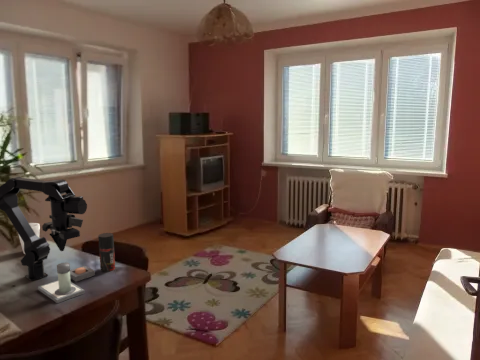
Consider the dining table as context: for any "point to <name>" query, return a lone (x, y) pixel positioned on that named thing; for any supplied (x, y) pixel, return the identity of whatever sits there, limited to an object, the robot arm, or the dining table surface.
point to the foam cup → (36, 230)
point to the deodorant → (106, 252)
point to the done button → (80, 270)
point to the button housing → (81, 276)
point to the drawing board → (55, 295)
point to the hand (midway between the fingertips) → (62, 250)
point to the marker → (64, 277)
